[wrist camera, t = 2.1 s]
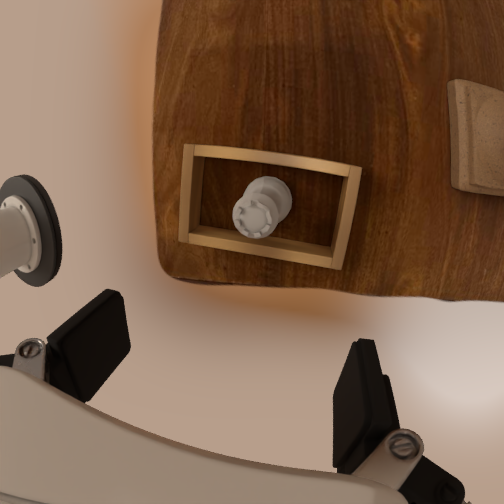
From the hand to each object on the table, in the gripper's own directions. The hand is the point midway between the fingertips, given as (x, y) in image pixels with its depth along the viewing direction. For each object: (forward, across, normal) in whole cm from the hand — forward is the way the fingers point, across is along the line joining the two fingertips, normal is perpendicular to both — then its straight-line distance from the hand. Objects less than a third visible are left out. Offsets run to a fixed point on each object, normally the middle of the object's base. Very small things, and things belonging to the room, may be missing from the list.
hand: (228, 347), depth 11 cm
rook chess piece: (+18, +1, -2) cm, 18 cm away
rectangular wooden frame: (+18, +1, -2) cm, 18 cm away
